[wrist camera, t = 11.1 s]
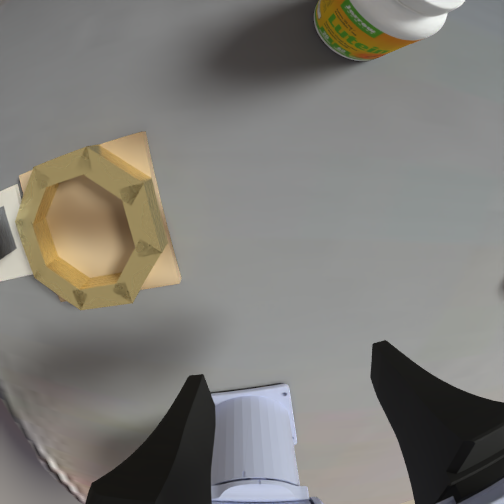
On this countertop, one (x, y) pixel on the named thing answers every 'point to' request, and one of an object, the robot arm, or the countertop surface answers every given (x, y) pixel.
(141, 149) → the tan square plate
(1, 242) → the steel block
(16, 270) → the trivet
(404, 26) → the supplement bottle
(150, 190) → the collar
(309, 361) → the countertop surface
